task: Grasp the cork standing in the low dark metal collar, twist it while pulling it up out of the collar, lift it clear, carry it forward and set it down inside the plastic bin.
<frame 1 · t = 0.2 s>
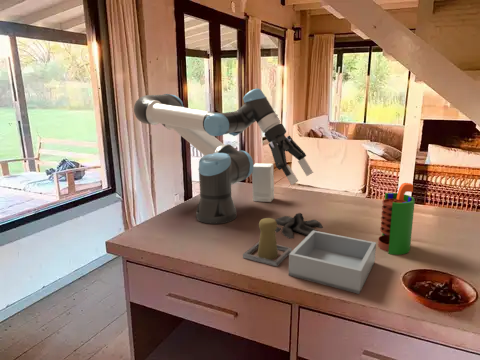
hand: (302, 178, 130), 15 cm above the countertop, tool tilted 35°, fingers open, 13 cm apart
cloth: (296, 231, 125), on the countertop
motor: (393, 247, 110), on the countertop
bin: (332, 268, 98), on the countertop
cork: (267, 255, 106), resting in collar
collar: (267, 254, 106), on the countertop
skincare box: (263, 200, 157), on the countertop
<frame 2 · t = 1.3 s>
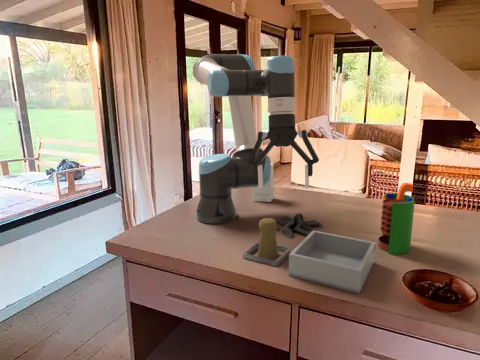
hand: (283, 187, 106), 19 cm above the countertop, tool pointing down, fingers open, 13 cm apart
nothing on the countertop moved.
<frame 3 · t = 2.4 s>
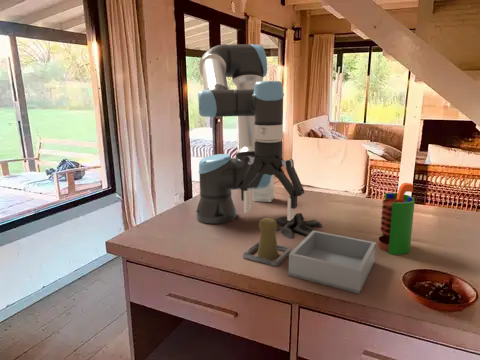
hand: (268, 215, 103), 12 cm above the countertop, tool pointing down, fingers open, 13 cm apart
nothing on the countertop moved.
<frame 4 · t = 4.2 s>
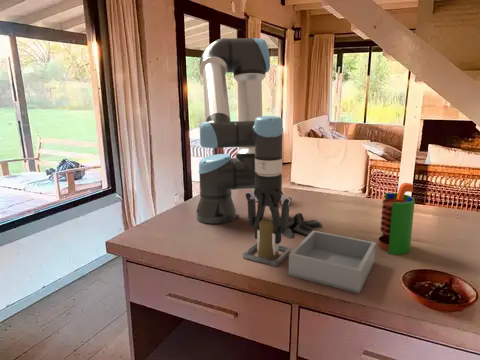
hand: (267, 251, 106), 1 cm above the countertop, tool pointing down, fingers closed on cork, 4 cm apart
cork: (267, 255, 106), resting in collar, touching gripper
everything else where it was.
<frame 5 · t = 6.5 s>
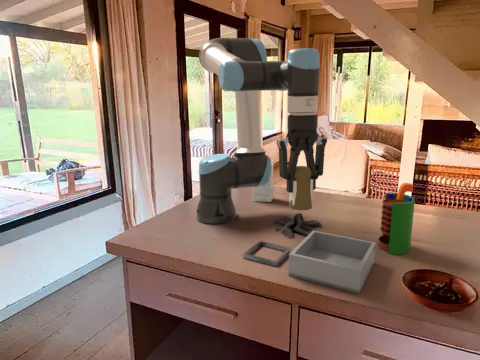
hand: (300, 202, 97), 18 cm above the countertop, tool pointing down, fingers closed on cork, 4 cm apart
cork: (300, 207, 97), point 16 cm above the countertop, touching gripper
everything else where it was.
when the fingers open (4 cm above the countertop, at t = 9.2 s): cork drops 2 cm, resting on bin.
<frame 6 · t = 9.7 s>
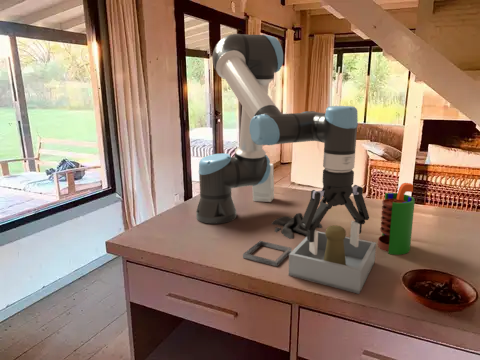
hand: (333, 248, 96), 6 cm above the countertop, tool pointing down, fingers open, 12 cm apart
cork: (334, 266, 98), point 1 cm above the countertop, touching bin
everything else where it was.
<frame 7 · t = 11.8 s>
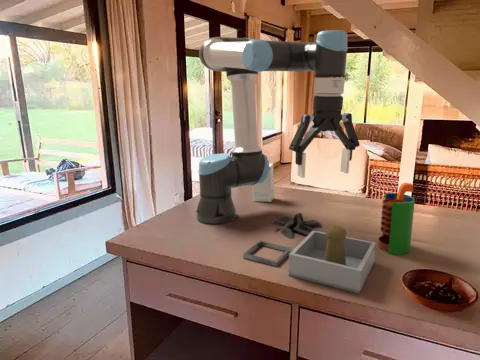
hand: (323, 174, 100), 24 cm above the countertop, tool pointing down, fingers open, 13 cm apart
nothing on the countertop moved.
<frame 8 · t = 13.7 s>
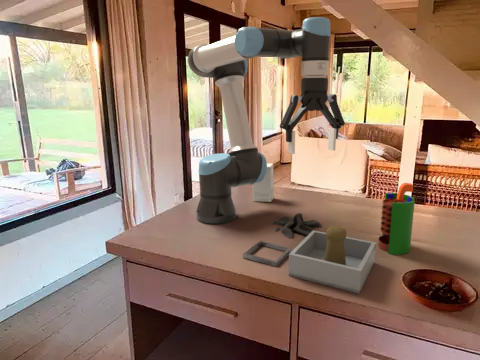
hand: (311, 151, 108), 29 cm above the countertop, tool pointing down, fingers open, 13 cm apart
nothing on the countertop moved.
at the end: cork inside the target area on the bin (0.5 cm from its centre), point 0.6 cm above the bin's base; the gripper is holding nothing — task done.
